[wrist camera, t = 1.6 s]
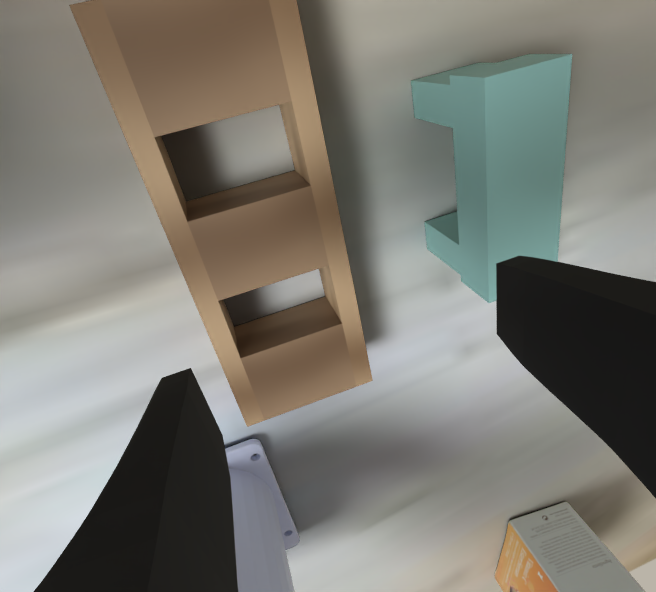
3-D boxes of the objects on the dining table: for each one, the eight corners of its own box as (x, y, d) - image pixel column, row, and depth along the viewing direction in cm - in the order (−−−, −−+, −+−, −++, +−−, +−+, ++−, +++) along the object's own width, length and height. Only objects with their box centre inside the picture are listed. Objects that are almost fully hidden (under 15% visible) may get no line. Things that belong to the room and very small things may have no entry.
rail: (354, 350, 23) (372, 380, 21) (240, 391, 22) (247, 426, 20) (272, -28, 15) (288, -42, 13) (85, 12, 14) (69, 5, 12)
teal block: (483, 236, 22) (556, 279, 18) (427, 254, 22) (488, 303, 17) (479, 54, 18) (572, 54, 14) (410, 72, 18) (484, 77, 13)
